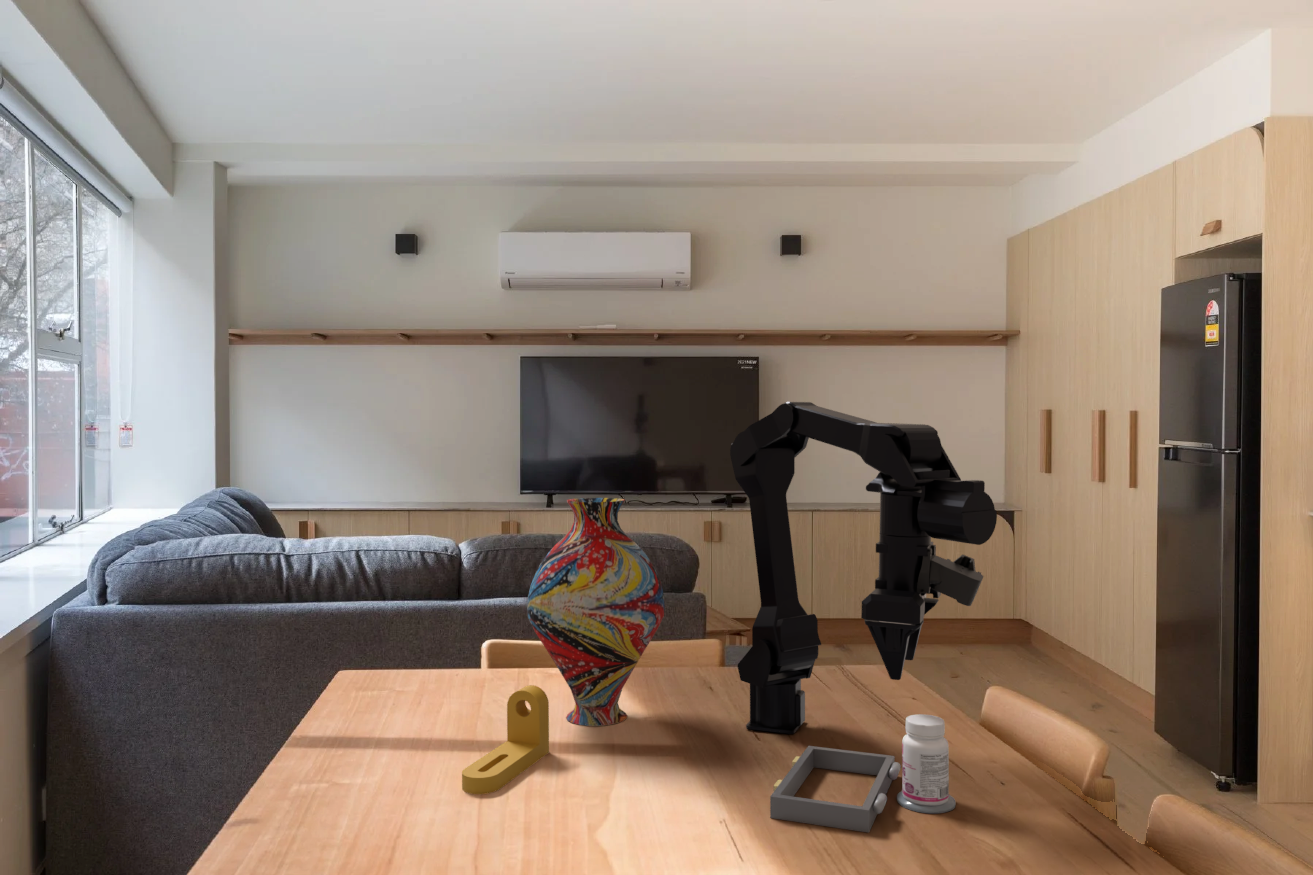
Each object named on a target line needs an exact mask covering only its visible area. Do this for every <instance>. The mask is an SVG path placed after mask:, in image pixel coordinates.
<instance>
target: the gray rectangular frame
mask: <svg viewBox="0 0 1313 875" xmlns="http://www.w3.org/2000/svg"><path fill="white" fill-rule="evenodd" d="M895 758H896V757H895V755H888V754H881V753H880V754H879V753H873V752H872V753H871V752H864V751H855V750H847V749H841V748H840V749H838V748H831V747H830V748H829V747H821V746H816V745H815V746H813V745H808V746H807V747H806V748H805V750H804V751H803V753H801V755H800V756H797V755H796V756H795V757H794V759H793V760H791V768H790V770H789V771H787V772H788V773H787V774H786V775H785V776H784V778H783V779H777V781H776V782H775V783H774V785H773V792H772V793H771V795H770V798H769V799H770V802H769V805H770V808H769V809H770V810H769V811H770V815H769V816H770V819H776V820H783V821H789V822H795V823H801V824H802V823H803V824H808V825H816V826H821V827H822V826H823V827H830V828H835V829H842V830H848V831H849V830H850V831H856V832H863V833H870V831H871V830H872V826H873V824H874V822H875V821H876V817H877V815H880V814H882V813H883V810H884V808H885V806H886V803H887V801H888V797H887V793H888V791H889V789H890V786H891V784H892V782H893V781H895V780H897V779H898V776H899V773H900V771H901V768H902V766H901V765H902V764H900V762H896V761H895ZM814 768H817V769H823V770H832V771H840V772H847V773H854V774H864V775H871V776H876V777H875V779H874V781H873V783H872V785H871V787H870V790H869V791H868V794H867V795H866V798H865V800H864V802H863V804H862V806H861V805H856V804H848V803H843V802H842V803H841V802H835V801H828V800H820V799H812V798H805V797H800V796H799V797H798V796H795V795H796V793H797V792H798V791H799V789H800V788H801V787H802V785H803V784H804V782H805V781H806V779H807V778H808V776H809V775H810V773H811V771H813V769H814Z"/></svg>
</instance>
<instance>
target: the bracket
mask: <svg viewBox="0 0 1313 875" xmlns="http://www.w3.org/2000/svg"><path fill="white" fill-rule="evenodd" d="M526 702H527V703H528V704H529V706H530V709H529V708H528V707H527V705H526ZM549 707H550V705H549V699H548V695H547V693H546V692H545V691H544V690H543V689H542V688H541V687H539V686H537V685H534V684H533V685H532V684H528V685H526V686H524V687H522V688H520V689H518V690H516V691H515V692H513V693H512V694H511V695H510V696H509V698H508V700H507V705H506V713H507V714H506V717H507V718H506V723H507V725H506V726H507V727H506V728H507V729H506V732H507V734H506V737H507V738H506V739H507V740H506V741H504V743H501V744H500V745H499V746H497V747H496V748H494V749H493V750H491V751H489V752H488V753H487V754H484V756H482V757H480V758H479V759H477V760H476V761H474V762H473V763H471V764H470V765H468V766H467V767H465V768H463V770H462V771H461V789H462V791H463V792H464V793H466V794H471V795H486V794H492V793H495V792H497V791H499V790H501V789H502V788H503V787H505V786H506V785H508V784H509V783H510V782H511V781H513V780H514V779H516V778H517V777H518V776H519V775H520V774H522V773H524V772H525V771H526V770H528V769H529V768H531V767H532V766H533V765H534V764H536V763H538V762H539V760H541V759H542V758H544V756H546V755H548V754H550V720H549V718H550V717H549V716H550V712H549V710H550V708H549Z"/></svg>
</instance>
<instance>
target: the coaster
mask: <svg viewBox="0 0 1313 875" xmlns="http://www.w3.org/2000/svg"><path fill="white" fill-rule="evenodd" d="M896 801H897V804H898V805H900V806H901V807H903V808H905V809H906V810H910V811H912V812H917V813H923V814H943V813H948V812H951V811H953V810H954V809H955V808H956V806H957V805H956V799H955V797H954V796H952V795H951V794H949V798H948V801H947V802H946V803H944V804H942V805H937V806H926V805H918V804H914V803H911V802H909V801H908V800H906V799H905V798H904V796H903V792H902V790H901V791H899V792H898V793H897V794H896Z"/></svg>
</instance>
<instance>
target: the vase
mask: <svg viewBox="0 0 1313 875" xmlns="http://www.w3.org/2000/svg"><path fill="white" fill-rule="evenodd" d="M566 502H567V504H568V506H569V507H570V509H571V511H572V512H573V523H572V525H571V528H570V529H569V531H567V533H566V534H565V535H564V536H563V537H562V538H561V539H560V540H559V541H558V542H557V543H556V544H554V546H553V547H552V548H551V549H550V550H549V551H548V553H547V554H546V555H545V557H544V558H543V559H542V561H541V562H540V564H539V566H538V567H537V569H536V571H535V574H534V575H533V577H532V581H531V584H530V587H529V591H528V595H527V618H528V621H529V623H530V625H531V626H532V628H533V631H534V633H535V634H536V636H537V638H538V639H539V640H540V642H541V643H542V645H543V647H544V648H545V650H546V652H547V653H548V654H549V656H550V657H551V659H552V661H553V662H554V664H555V666H556V667H557V669H558V670H559V672H560V674H561V676H562V678H563V679H564V681H565V682H566V684H567V685H568V688H569V689H570V691H571V694H572V696H573V699H574V702H575V703H574V704H575V705H574V708H573V710H571V711H570V712H569V713H568V714H567V715H566V717H565V718H566V720H567V721H568V722H570V723H571V724H576V725H581V726H590V727H591V726H592V727H599V726H600V727H602V726H609V725H615V724H618V723H621V722H622V723H623V722H624V721H625V720H626V719H627V718H628V714H627V713H626V712H625V711H624V710H622V709H621V708H620V706H619V702H620V701H619V700H620V698H621V695H622V691H623V690H624V687H625V685H626V683H627V681H628V679H630V676H631V674H632V673H633V671H634V669H635V668H636V666H637V664H638V663H639V661H640V659H641V658H642V655H643V654H644V653H645V651H646V649H647V647H648V646H649V644H650V643H651V640H652V639H653V637H654V636H655V634H656V633H657V631H658V629H659V627H660V626H661V623H662V620H663V619H664V618H665V617H664V616H665V607H666V606H665V595H664V591H663V585H662V582H661V579H660V577H659V574H658V573H657V571H656V570H657V569H656V568H655V566H654V565H653V563H652V562H651V560H650V558H649V557H648V556H647V554H646V552H645V551H644V550H643V549H642V548H641V547H640V546H639V544H637V543H636V542H635V541H634V540H633V539H631V537H629V536H628V534H627V533H626V532H625V531H623V529H622V528H621V526H620V523H619V521H618V518H619V516H618V514H619V511H620V509H621V507H622V506H623V505H624V503H625V499H624V498H618V497H617V498H616V497H584V498H583V497H582V498H581V497H579V498H571V499H566Z"/></svg>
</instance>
